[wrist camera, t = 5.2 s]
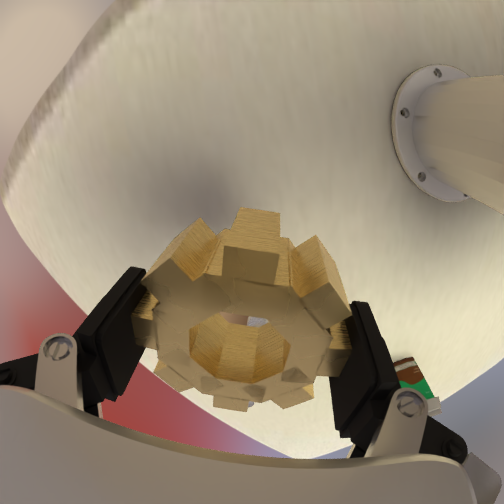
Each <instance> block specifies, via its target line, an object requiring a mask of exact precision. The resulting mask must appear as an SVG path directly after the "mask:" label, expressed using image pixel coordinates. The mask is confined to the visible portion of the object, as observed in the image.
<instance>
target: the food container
mask: <svg viewBox="0 0 504 504" xmlns="http://www.w3.org/2000/svg"><path fill="white" fill-rule="evenodd" d="M393 365H394V368H395V371H396V373H397V376H398V379H399V382H400V385H401V388H412V389H415V390H417V391H419V392H420V393H421V394H422V395H423V396H424V397H425V399H426V400H427V403H428V414H427V415H429V416H430V417H432V416H435V415H438V414H441V413H442V412H441V409H440V408H441V404H440V400H439V396H438V397H434V395H433V393H432V391H431V389H430V387H429V385H428V384H427V382H426V380H425V378H424V376H423V374H422V372H421V371H420V369H419V367H418V365H417V363H416V361H415V360H414V358H413V357H410V358H405V359H402V360H400V361H397V362H394V363H393Z"/></svg>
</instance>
